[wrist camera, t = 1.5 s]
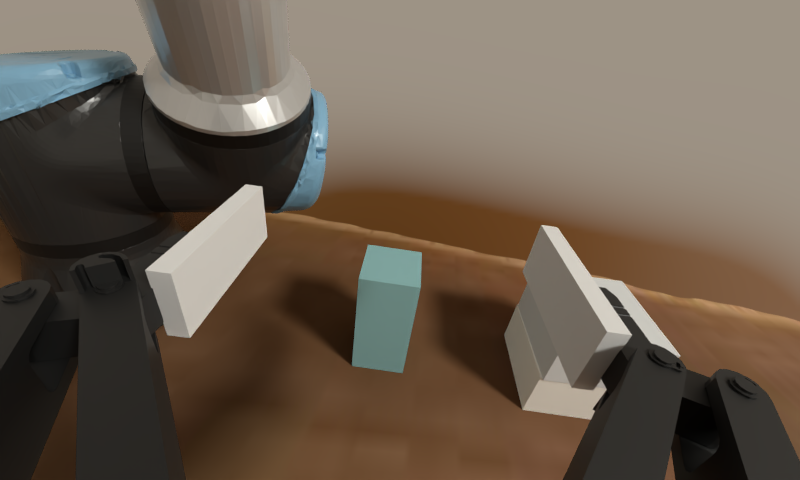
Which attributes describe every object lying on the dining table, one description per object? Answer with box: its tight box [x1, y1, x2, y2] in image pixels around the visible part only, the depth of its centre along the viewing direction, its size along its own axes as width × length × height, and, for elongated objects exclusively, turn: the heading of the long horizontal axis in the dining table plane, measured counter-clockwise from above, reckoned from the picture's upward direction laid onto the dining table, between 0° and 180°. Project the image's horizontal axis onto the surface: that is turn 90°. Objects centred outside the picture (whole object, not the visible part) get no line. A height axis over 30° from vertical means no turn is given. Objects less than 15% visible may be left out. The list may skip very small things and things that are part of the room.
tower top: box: [518, 277, 680, 388], centre depth 31 cm, size 9×9×5 cm
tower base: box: [504, 305, 607, 420], centre depth 34 cm, size 9×9×5 cm
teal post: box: [352, 245, 422, 373], centre depth 32 cm, size 5×5×11 cm
